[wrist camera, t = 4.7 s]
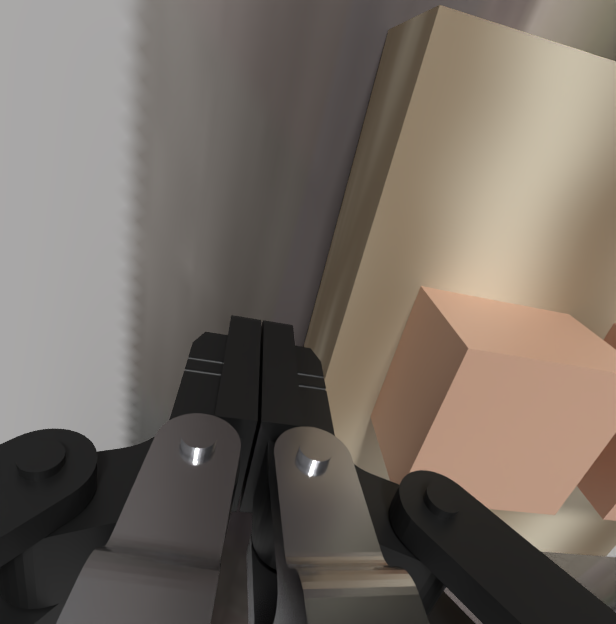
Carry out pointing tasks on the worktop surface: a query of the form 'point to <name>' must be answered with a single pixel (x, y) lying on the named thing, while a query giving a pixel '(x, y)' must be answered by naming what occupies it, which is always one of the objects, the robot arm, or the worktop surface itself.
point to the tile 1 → (497, 400)
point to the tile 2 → (603, 469)
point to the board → (471, 215)
